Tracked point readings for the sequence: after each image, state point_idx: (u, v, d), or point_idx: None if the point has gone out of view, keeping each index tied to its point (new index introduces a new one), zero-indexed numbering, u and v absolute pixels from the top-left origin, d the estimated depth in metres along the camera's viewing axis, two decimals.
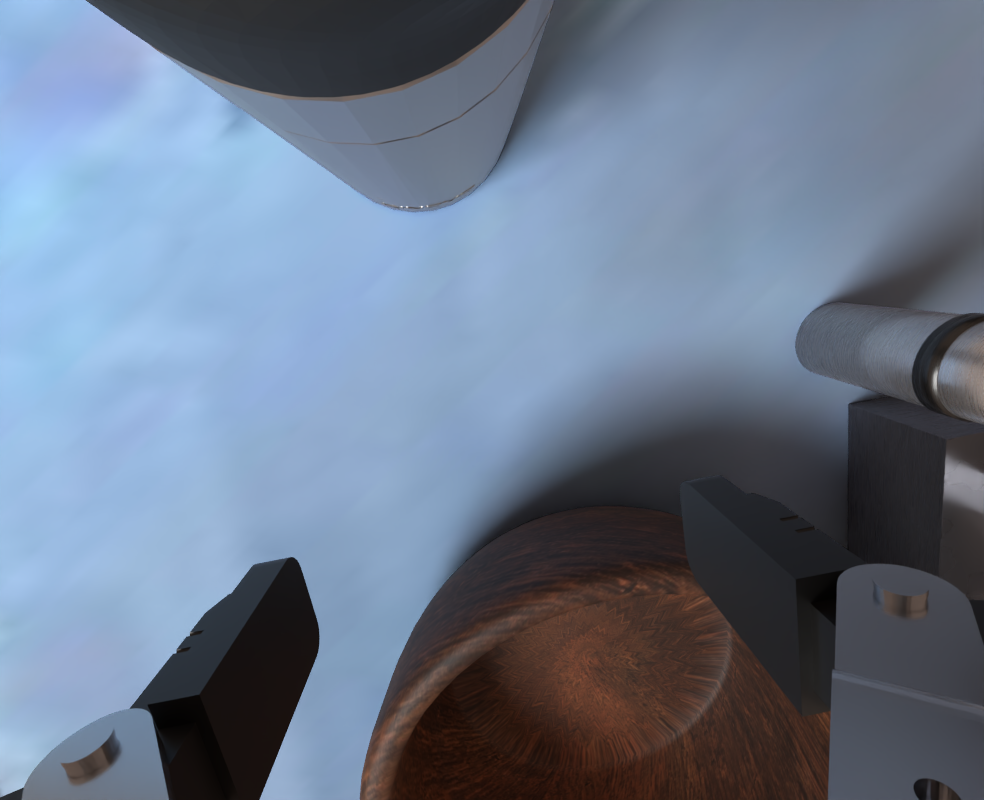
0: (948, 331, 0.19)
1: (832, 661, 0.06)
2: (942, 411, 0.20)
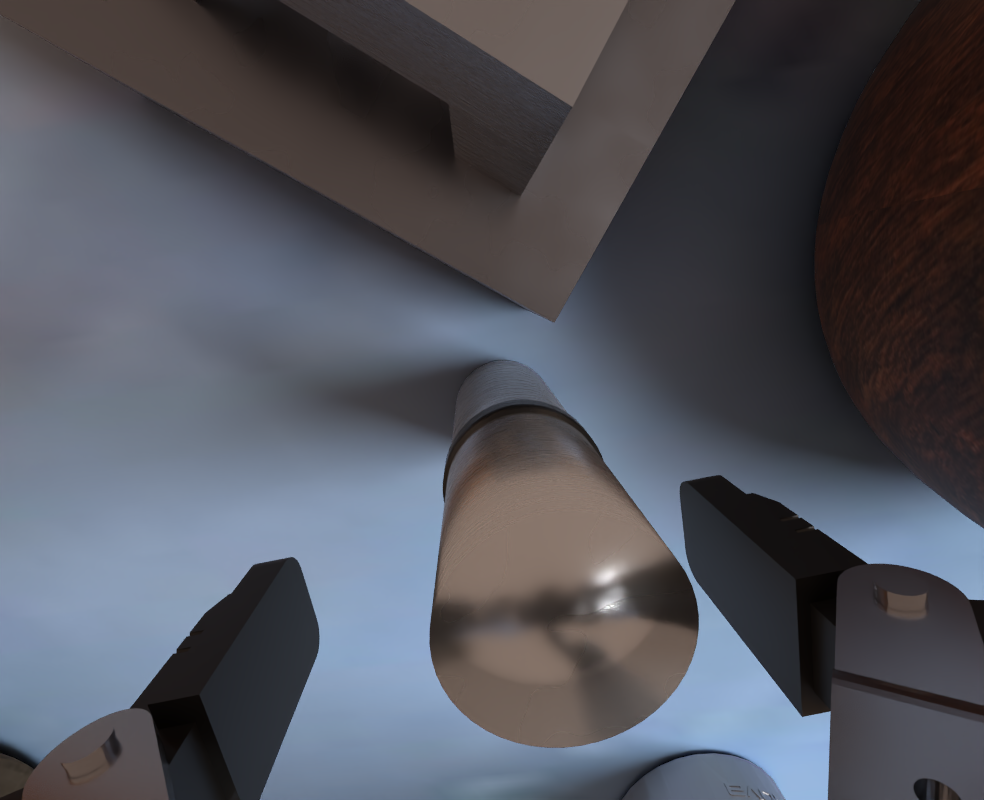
0: None
1: (832, 661, 0.06)
2: None
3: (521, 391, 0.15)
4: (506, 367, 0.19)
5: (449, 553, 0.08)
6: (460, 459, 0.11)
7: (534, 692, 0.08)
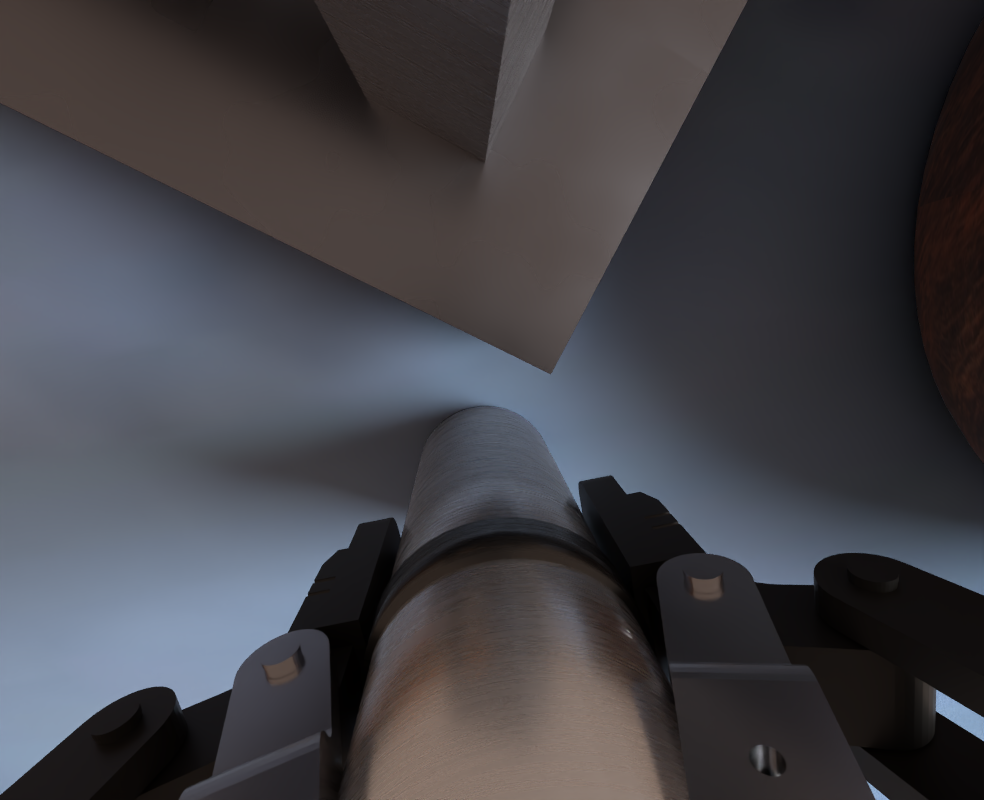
0: None
1: (658, 638, 0.07)
2: None
3: (502, 485, 0.09)
4: (484, 422, 0.13)
5: None
6: (375, 680, 0.06)
7: None
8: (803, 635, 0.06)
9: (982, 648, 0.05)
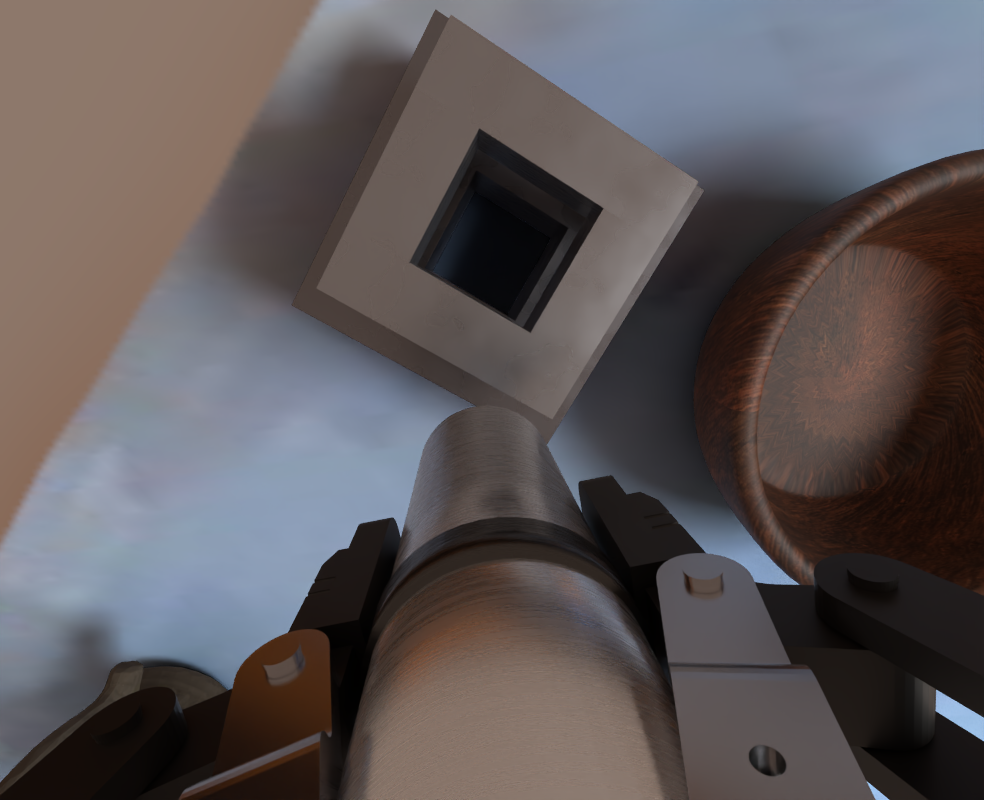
0: None
1: (658, 638, 0.07)
2: None
3: (502, 484, 0.09)
4: (484, 421, 0.13)
5: None
6: (374, 680, 0.06)
7: None
8: (803, 635, 0.06)
9: (982, 647, 0.05)
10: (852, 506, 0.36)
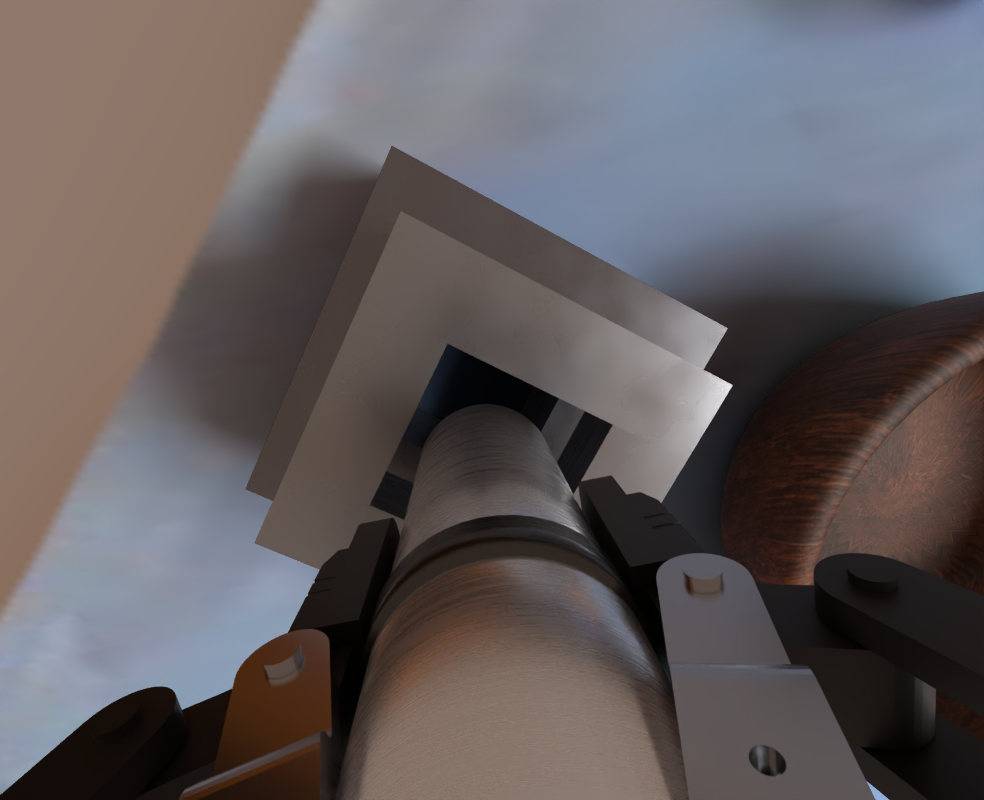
0: None
1: (658, 638, 0.07)
2: None
3: (501, 483, 0.09)
4: (484, 420, 0.13)
5: None
6: (373, 678, 0.06)
7: None
8: (802, 635, 0.06)
9: (982, 648, 0.05)
10: None
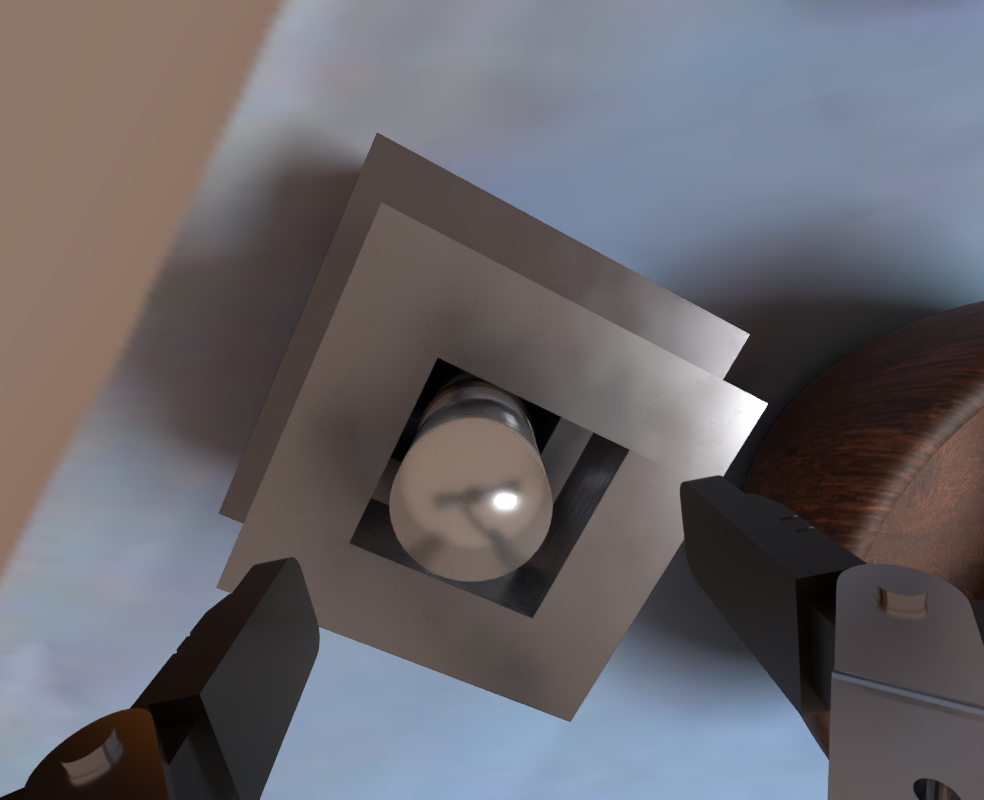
0: None
1: (831, 661, 0.06)
2: None
3: None
4: None
5: None
6: (424, 417, 0.16)
7: (454, 543, 0.12)
8: None
9: None
10: None
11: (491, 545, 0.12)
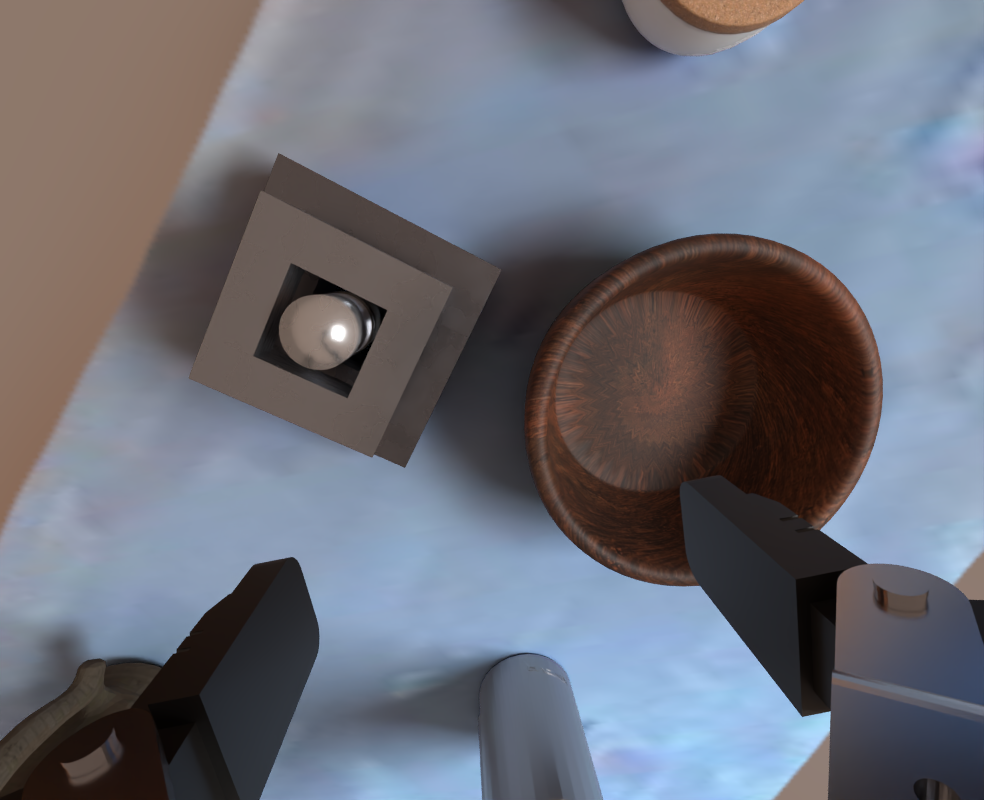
0: None
1: (832, 661, 0.06)
2: (372, 315, 0.32)
3: None
4: None
5: None
6: None
7: (310, 350, 0.27)
8: None
9: None
10: (674, 497, 0.44)
11: (328, 351, 0.27)
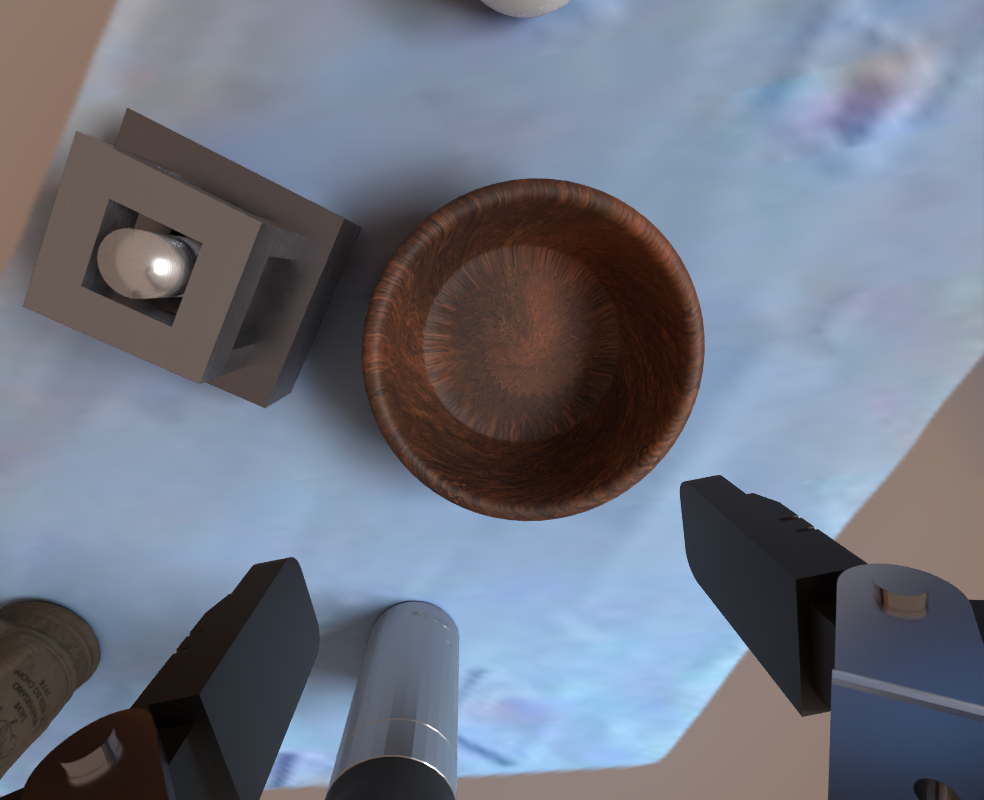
0: None
1: (832, 661, 0.06)
2: None
3: None
4: None
5: None
6: None
7: (128, 280, 0.30)
8: None
9: None
10: (543, 446, 0.46)
11: (144, 281, 0.30)
